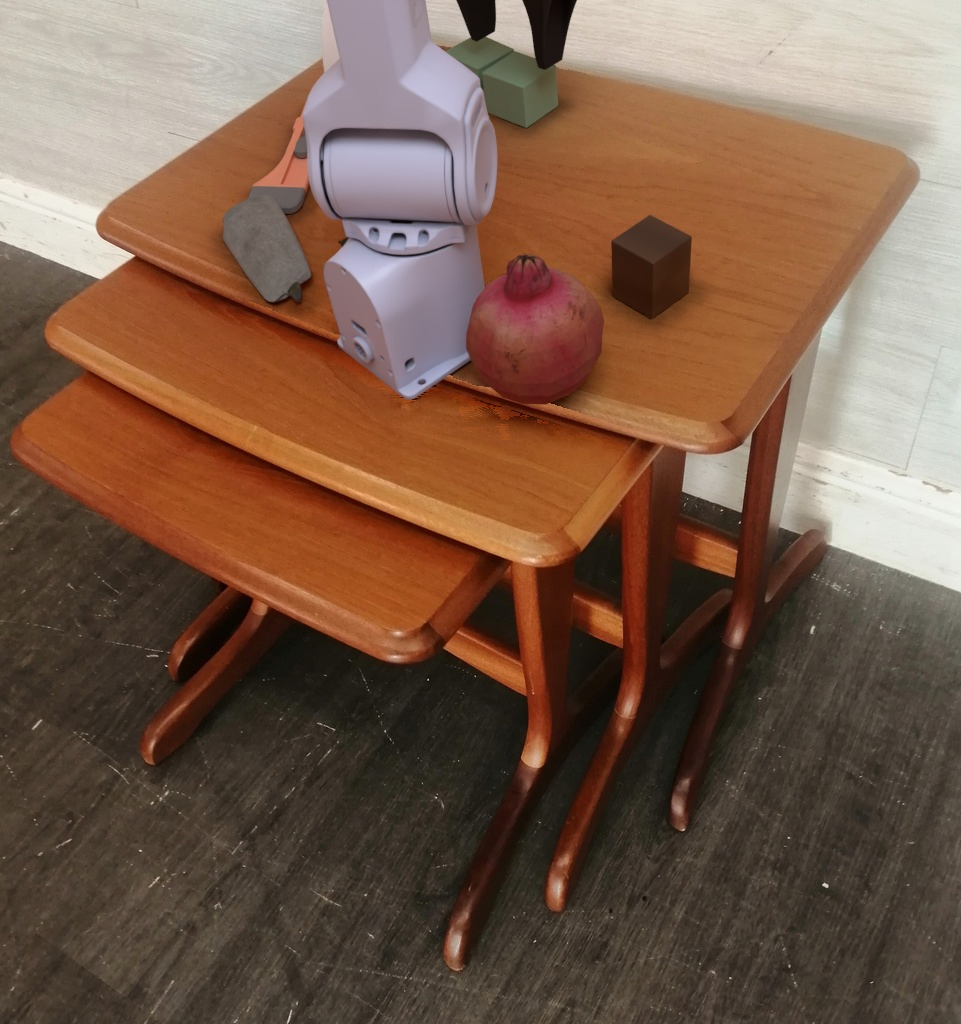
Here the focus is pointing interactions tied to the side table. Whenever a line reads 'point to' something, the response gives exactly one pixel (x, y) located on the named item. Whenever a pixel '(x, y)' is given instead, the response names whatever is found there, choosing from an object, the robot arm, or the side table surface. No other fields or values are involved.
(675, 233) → the dark brown block
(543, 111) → the sage green cube
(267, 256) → the stone
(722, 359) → the side table surface
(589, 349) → the fruit
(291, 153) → the utility knife
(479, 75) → the green block
